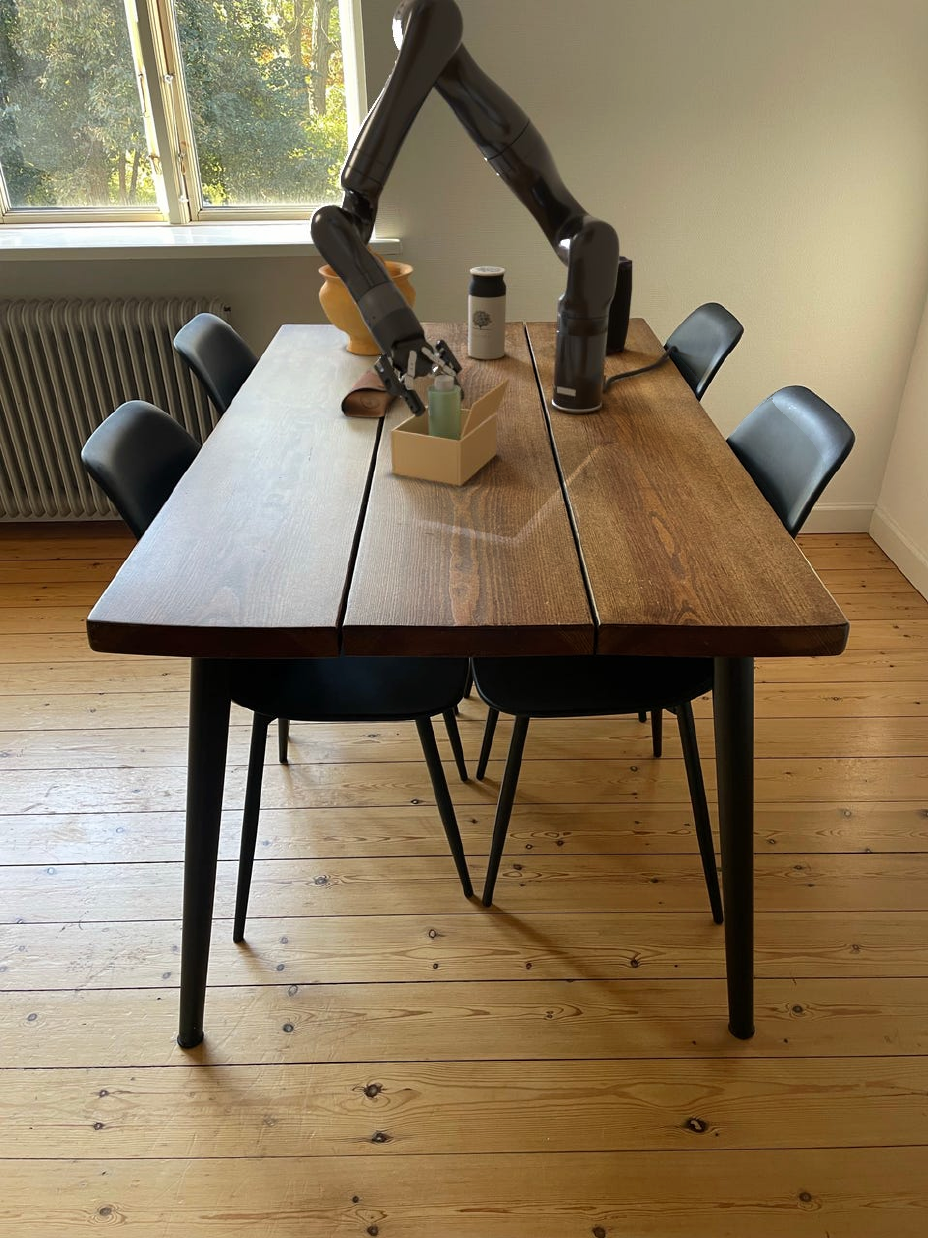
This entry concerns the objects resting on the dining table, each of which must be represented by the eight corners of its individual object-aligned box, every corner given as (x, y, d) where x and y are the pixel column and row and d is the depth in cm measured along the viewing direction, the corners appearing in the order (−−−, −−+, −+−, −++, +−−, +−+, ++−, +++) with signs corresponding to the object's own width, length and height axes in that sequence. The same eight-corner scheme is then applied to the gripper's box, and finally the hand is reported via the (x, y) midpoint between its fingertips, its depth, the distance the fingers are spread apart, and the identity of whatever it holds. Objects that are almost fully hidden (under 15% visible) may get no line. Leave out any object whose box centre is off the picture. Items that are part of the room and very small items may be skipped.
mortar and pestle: (414, 362, 199) (410, 211, 183) (316, 361, 199) (304, 211, 184) (419, 336, 217) (416, 197, 201) (330, 335, 217) (319, 196, 201)
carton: (431, 445, 157) (430, 403, 153) (495, 457, 153) (496, 413, 149) (392, 475, 147) (390, 430, 143) (460, 488, 142) (460, 442, 138)
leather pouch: (386, 415, 168) (366, 384, 166) (355, 433, 171) (335, 402, 168) (405, 385, 184) (387, 356, 181) (376, 401, 186) (358, 373, 184)
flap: (508, 377, 145) (510, 378, 145) (496, 409, 149) (497, 410, 149) (472, 403, 134) (474, 404, 134) (460, 437, 138) (461, 438, 138)
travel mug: (481, 348, 208) (483, 264, 199) (511, 354, 204) (513, 268, 195) (461, 356, 203) (461, 270, 193) (491, 362, 199) (492, 275, 189)
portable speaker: (583, 354, 205) (589, 261, 194) (592, 343, 212) (598, 253, 202) (622, 357, 202) (630, 263, 192) (629, 346, 210) (638, 255, 200)
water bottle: (437, 455, 153) (436, 371, 145) (466, 460, 151) (466, 375, 143) (423, 466, 148) (421, 380, 141) (452, 471, 147) (452, 385, 139)
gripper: (366, 313, 139) (419, 405, 138) (434, 298, 147) (485, 384, 146) (346, 342, 145) (397, 430, 144) (412, 326, 153) (461, 409, 152)
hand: (441, 407), depth 145 cm, fingers open, 8 cm apart
